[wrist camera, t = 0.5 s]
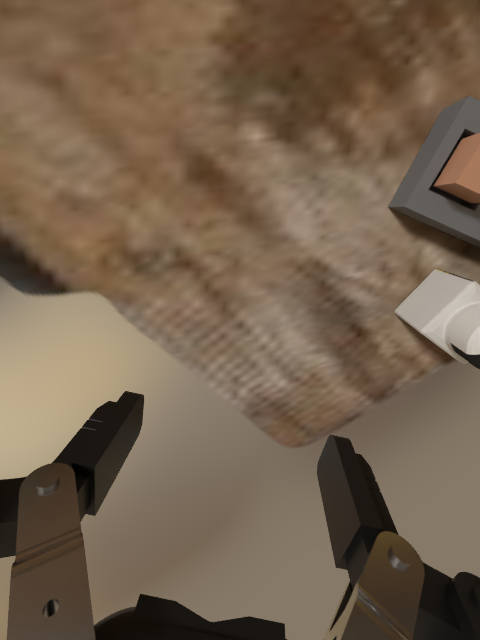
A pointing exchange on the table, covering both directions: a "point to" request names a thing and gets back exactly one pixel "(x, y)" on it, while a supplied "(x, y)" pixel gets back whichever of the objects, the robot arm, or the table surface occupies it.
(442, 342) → the medicine bottle
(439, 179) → the terracotta key
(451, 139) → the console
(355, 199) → the table surface
